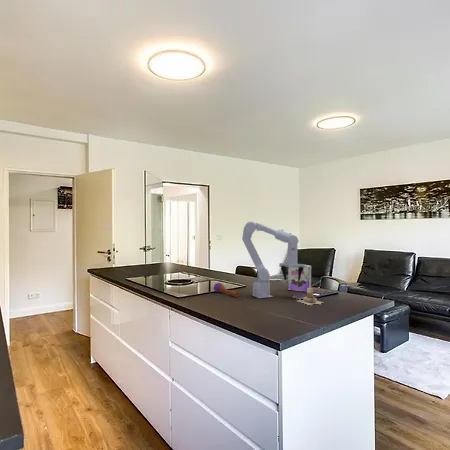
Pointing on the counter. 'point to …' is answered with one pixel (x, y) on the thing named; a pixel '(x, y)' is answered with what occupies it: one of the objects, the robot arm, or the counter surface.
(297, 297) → the ink pad
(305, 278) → the candy box
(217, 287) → the maraca
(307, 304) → the board
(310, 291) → the stamp
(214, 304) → the counter surface
